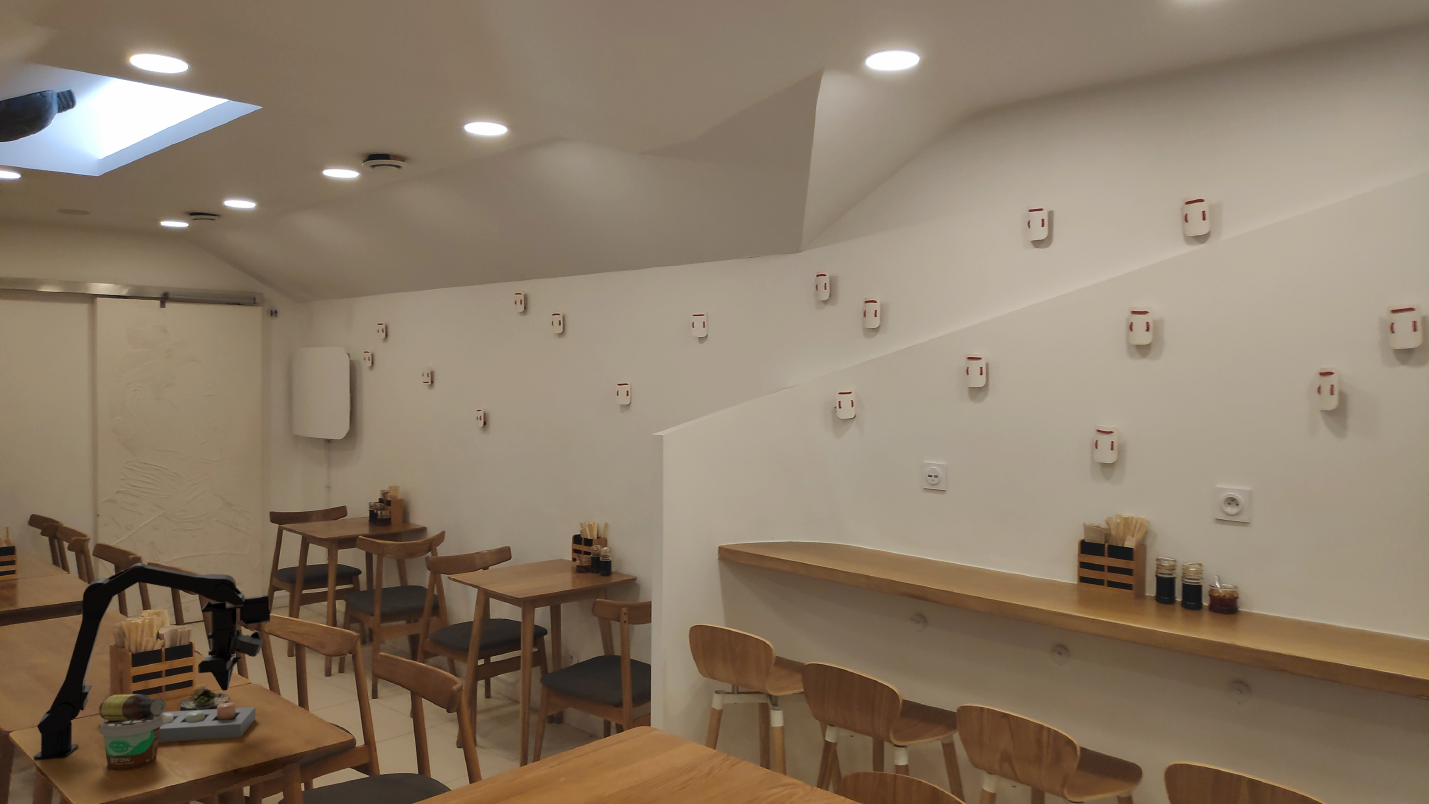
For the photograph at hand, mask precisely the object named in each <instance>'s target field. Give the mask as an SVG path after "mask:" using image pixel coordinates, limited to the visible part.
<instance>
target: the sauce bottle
mask: <svg viewBox="0 0 1429 804" xmlns="http://www.w3.org/2000/svg"><path fill="white" fill-rule="evenodd" d="M166 709H167V702H166V700H164V699H163V698H159V697H158V698H151V697H150V696H148V695H147V694H143V693H142V694H141V693H136V694H135V693H132V694H131V693H130V694H113V695H109V696H107V697H105V698H104V699H103V700H102V701H101V702H100V705H99V706H98V712H99V716H100V718H102V719H103V720H104V719H105V721H111V722H112V721H113V722H123V721H127V720H143V719H144V718H145V717H147V716H149V715H152V716H158V715H161V714H162V713H163V712H166Z"/></svg>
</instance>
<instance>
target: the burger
mask: <svg viewBox="0 0 1429 804" xmlns="http://www.w3.org/2000/svg"><path fill="white" fill-rule="evenodd" d="M193 681H194V683H196V682H195V679H193ZM207 686H208V684H206V683H200V684H197V685H195V686H194V687H193V688H192V690H191V693H190V697H187V698H185V699H183V700H181V701H179V708H178V711H191V710H210V709H215V708H217V706H218V705H220V704H222V703H227V702H228V701H229V699H231V697H230V696H229V695H227V694H225V693H222V692H220V693H215V692H214V691H212V690H211V689H208V688H207Z"/></svg>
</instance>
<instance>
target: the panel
mask: <svg viewBox="0 0 1429 804" xmlns="http://www.w3.org/2000/svg"><path fill="white" fill-rule="evenodd" d="M193 711H204V712H205V719H204V720H203V721H199V722H186V714H187V713H189V712H193ZM167 713H170V714H173V722H172V723H164V724H163V725H162V726H160V731H159V739H158V743H168V742H183V741H184V742H185V741H186V742H188V741H200V740H201V741H202V740H216V739H217V740H218V739H219V740H220V739H233V738H234V739H235V738H241V737H242V736H243V735H244V734H245V732H246V731H247V730H248V729H249V727H250V726H251V725H252V724H253V723H254V722H255V721H256V706H251V707H249V706H247V707H236V711H235V717H234V718H232V719H229V720H218V719H217V708H210V709H207V710H191V711H179V710H178V711H177V710H176V711H164V712H163V713H162V714H167ZM154 717H155V716H152V715H149V716H147V717H145V718H144V719H142V720H153V719H154ZM254 720H255V721H254Z"/></svg>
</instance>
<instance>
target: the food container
mask: <svg viewBox="0 0 1429 804" xmlns="http://www.w3.org/2000/svg"><path fill="white" fill-rule="evenodd" d="M163 724H164V723H163V718H161V715H160V716H159V717H157V718H155V719H153V720H143V719H141V720H127V721H114V722H106V719H103V720H102V723H101V724H100V729H99V733H100V735H102V736H103V739H104V740H103V741H104V746H105V747H104V749H105V756H106V758H105V759H106V765H107V769H109V770H111V771H119V772H120V771H129V770H135V769H138V768H143V767H145V766H147V765H149V764H152V763H154V762H155V761H156V760H157V753H158V746H159V742H158V739H159V731H160V726H162V725H163Z"/></svg>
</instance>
